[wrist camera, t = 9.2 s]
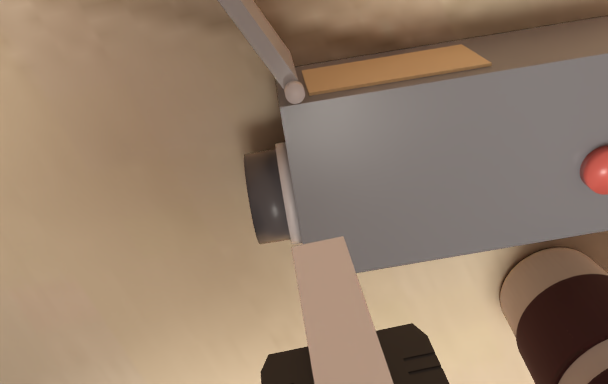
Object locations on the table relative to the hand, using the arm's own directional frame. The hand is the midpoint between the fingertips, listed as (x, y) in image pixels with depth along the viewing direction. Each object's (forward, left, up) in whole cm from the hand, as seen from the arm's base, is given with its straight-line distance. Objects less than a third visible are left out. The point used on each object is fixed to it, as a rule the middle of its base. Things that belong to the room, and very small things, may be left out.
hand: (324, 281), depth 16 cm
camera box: (+8, -3, -19) cm, 21 cm away
